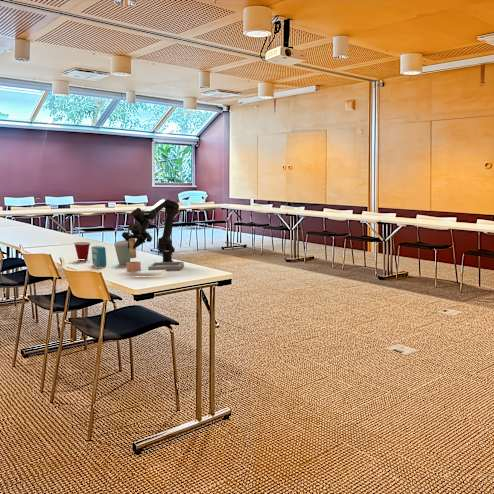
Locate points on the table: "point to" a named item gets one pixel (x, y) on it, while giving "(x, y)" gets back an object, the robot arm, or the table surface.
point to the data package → (99, 255)
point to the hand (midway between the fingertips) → (131, 248)
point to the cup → (133, 266)
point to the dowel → (132, 250)
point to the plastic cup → (82, 249)
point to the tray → (166, 266)
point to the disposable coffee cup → (122, 252)
